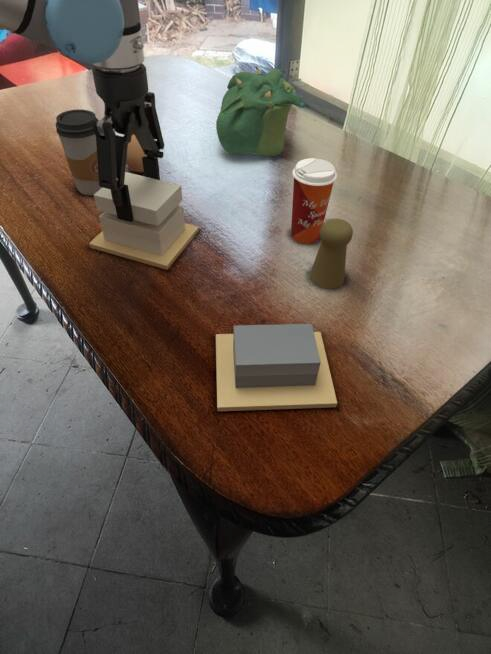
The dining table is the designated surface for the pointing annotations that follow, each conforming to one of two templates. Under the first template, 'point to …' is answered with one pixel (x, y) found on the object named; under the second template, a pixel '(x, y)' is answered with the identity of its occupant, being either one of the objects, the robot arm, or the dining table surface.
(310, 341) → the grey stack
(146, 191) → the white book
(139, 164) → the egg
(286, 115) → the decorative sculpture
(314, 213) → the paper cup
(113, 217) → the cream box
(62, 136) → the coffee cup
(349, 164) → the dining table surface
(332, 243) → the pepper shaker
